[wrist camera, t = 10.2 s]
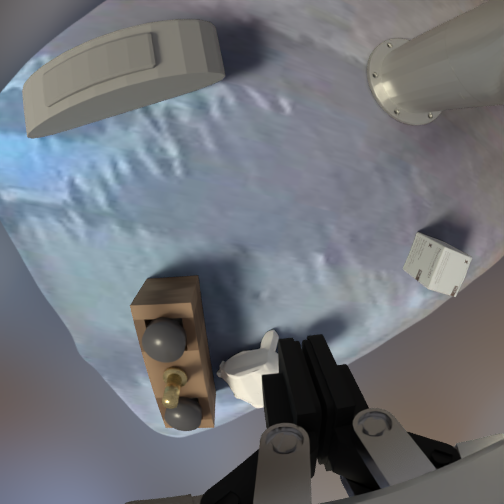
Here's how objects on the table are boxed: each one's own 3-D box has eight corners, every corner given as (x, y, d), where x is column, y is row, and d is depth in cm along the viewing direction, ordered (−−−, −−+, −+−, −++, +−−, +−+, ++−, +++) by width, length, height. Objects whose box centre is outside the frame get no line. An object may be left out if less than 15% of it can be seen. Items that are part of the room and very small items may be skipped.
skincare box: (416, 230, 41) (445, 245, 34) (444, 242, 42) (473, 257, 35) (401, 269, 43) (427, 289, 36) (430, 278, 44) (457, 298, 37)
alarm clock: (217, 44, 33) (211, -1, 20) (226, 88, 34) (223, 57, 22) (51, 97, 33) (-6, 85, 20) (57, 138, 34) (-1, 138, 22)
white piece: (251, 376, 50) (337, 359, 44) (235, 416, 43) (331, 405, 36) (224, 340, 48) (315, 317, 41) (203, 380, 41) (305, 363, 34)
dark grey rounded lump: (202, 364, 44) (197, 406, 36) (207, 388, 46) (203, 430, 37) (170, 365, 44) (160, 406, 35) (176, 389, 45) (168, 430, 37)
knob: (190, 290, 41) (180, 325, 32) (195, 322, 42) (187, 362, 33) (155, 292, 40) (137, 326, 32) (161, 324, 42) (147, 362, 33)
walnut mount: (198, 275, 41) (191, 302, 33) (215, 391, 47) (214, 427, 39) (146, 278, 41) (130, 305, 33) (173, 392, 47) (165, 427, 39)
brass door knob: (185, 366, 36) (180, 393, 31) (189, 384, 37) (185, 412, 32) (161, 366, 36) (153, 393, 31) (166, 384, 37) (159, 412, 32)
